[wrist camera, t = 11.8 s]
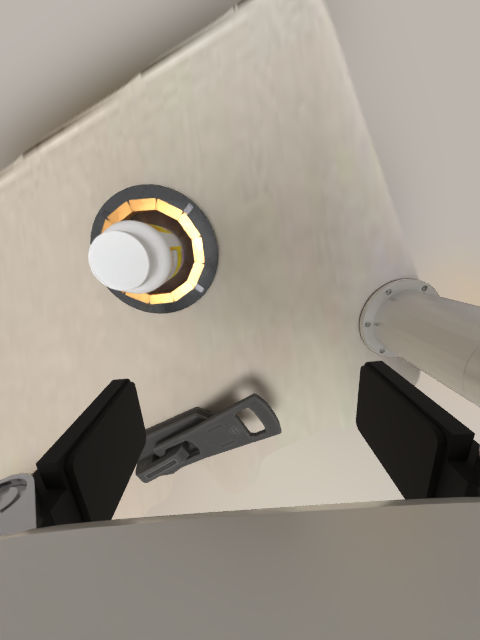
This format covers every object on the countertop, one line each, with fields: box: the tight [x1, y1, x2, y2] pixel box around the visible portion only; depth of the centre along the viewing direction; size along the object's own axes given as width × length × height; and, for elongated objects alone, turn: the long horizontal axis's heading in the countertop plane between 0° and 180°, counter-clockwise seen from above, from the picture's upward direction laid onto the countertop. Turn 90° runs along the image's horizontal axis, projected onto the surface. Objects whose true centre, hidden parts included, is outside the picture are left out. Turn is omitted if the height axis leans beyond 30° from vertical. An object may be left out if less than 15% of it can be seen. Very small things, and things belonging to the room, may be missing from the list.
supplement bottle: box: [88, 220, 184, 294], centre depth 25 cm, size 7×7×13 cm
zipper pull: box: [136, 393, 281, 483], centre depth 38 cm, size 9×7×25 cm
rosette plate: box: [90, 185, 218, 313], centre depth 31 cm, size 16×16×3 cm
